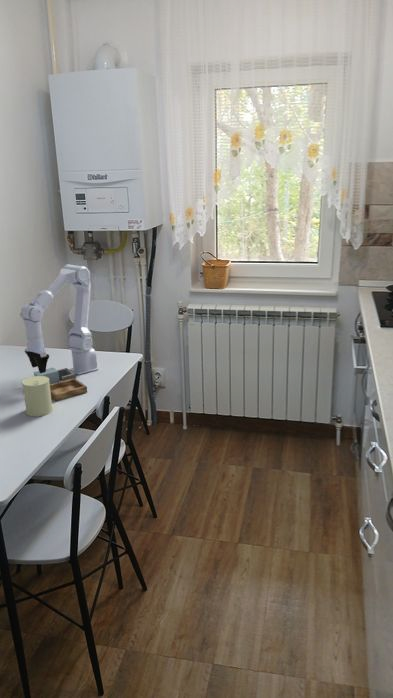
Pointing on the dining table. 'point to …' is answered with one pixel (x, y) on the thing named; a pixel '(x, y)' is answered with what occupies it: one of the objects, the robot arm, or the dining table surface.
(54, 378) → the pale blue cuboid
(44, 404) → the can
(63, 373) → the bay
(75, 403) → the dining table surface
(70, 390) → the tray
